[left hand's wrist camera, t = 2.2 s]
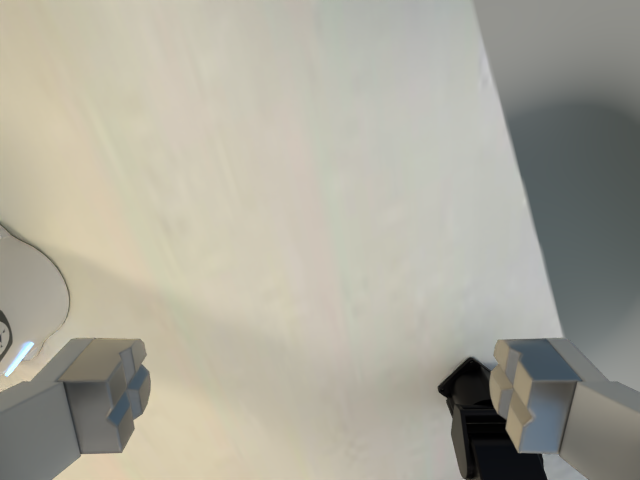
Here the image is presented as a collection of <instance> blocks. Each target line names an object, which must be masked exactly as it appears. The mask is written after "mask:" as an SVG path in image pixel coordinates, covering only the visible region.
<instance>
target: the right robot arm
mask: <svg viewBox="0 0 640 480" xmlns="http://www.w3.org/2000/svg"><path fill="white" fill-rule="evenodd" d="M471 361H473V362H471ZM470 362H471V363H470ZM490 374H491V371H490V370H489V369H488V368H486V367H485V366H483V365H482V364H481V363H479V362H478V361H477V360H475V359H474V358H469V359H468V360H467V361H465V362H464V363H463V364H462V365H461V366H460V367H459V368H458V369H457V370H456V371H455V372H454V373H453V374H452V375H451V376H450V377H449V378H447V379H446V380H445V381H444V382H443V383H442V384H441V385H440V386H439V387H438V391H439V393H441V394H442V395H444V396H445V397H446V398H448V399H447V400H446V403H447V405H448V408H449V410H450V413H451V416H452V418H453V421H452V429H451V436H452V440H453V445H454V449H455V453H456V458H457V462H458V466H459V470H460V473H461V476H462V477H463V479H466V480H547V477H546V474H545V471H544V466H543V457H542V454H540V453H518V451H517V450H516V448H515V446H514V444H513V442H512V440H511V438H510V437H509V435H508V433H507V431H506V429H505V428H506V422H507V420H506V419H504V418H503V417H501V416H500V415H499V414H497V412H496V410H495V408H494V406H493V403H492V400H491V397H490V387H489V382H490ZM441 389H443V390H441Z"/></svg>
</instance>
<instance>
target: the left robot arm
mask: <svg viewBox="0 0 640 480" xmlns="http://www.w3.org/2000/svg"><path fill="white" fill-rule="evenodd" d="M68 309H69V295H68V290H67V287H66V284H65V282H64V279H63V277H62V276H61V274H60V272H59V271H58V269H57V268H56V267H55V265H54V264H53V263H52V262H51V261H50V260H49V259H48V258H47V257H46V256H45V255H44V254H42V253H41V252H40V251H38V250H37V249H35V248H34V247H32V246H30V245H28V244H26V243H24V242H22V241H20V240H18V239H16V238H15V237H13V236H12V235H10V234H9V233H8V232H7V231H6V230H5V229H4V228H3V227H2V226H1V225H0V376H1V375H2V374H3V373H5V372H6V371H7V370H8V372H7V373H6V374H5V375H6V376H8V375H9V374H10V373H11V372H12V371H13V370H14V369H15V367H16V366H17V365H18V363H19V362H20V361H21V360H31V359H32V358H34V357H35V356H36V355H37V354H38V353H39V352H40V350H41V348H42V345H43V343H44V341H45V340H46V339H47V338H48V337H49V336H51V335H52V334H53V333H55V332H56V331H57V330H58V329H59V328H60V327H61V325H62V324H63V322H64V321H65V319H66V316H67V313H68ZM145 357H146V350H145V345H144V342H143V341H142V340H141V339H117V338H75V339H71V340H70V341H69V342H68V343H67V344H66V345H65V346H64V347H63V348H62V349H61V350H60V351H59V352H58V353H57V354H56V355H55V356H54V357H53V358H52V359H51V361H50V362H49V363H48V364H47V365H46V366H45V367H44V368H43V369H42V370H41V371H40V372H39V373H38V374H37V375H36V376H35V377H34V378H33V379H32V380H31V381H30V382H21V383H19V384H17V385H15V386H12V387H10V388H8V389H6V390H4V391H2V392H0V480H52V479H53V478H54V477H56V476H57V475H58V474H59V473H61V472H62V471H63V470H64V469H66V468H67V467H68V466H69V465H70V464H72V463H73V462H74V461H75V460H77V459H78V458H79V457H80V456H81V454H99V453H122V451H123V450H124V448H125V446H126V444H127V442H128V440H129V438H130V437H131V435H132V433H133V431H134V429H135V428H134V422H133V420H134V419H136V418H137V417H139V416H140V415H141V414H143V412H144V410H145V408H146V406H147V404H148V399H149V395H150V384H151V381H150V374H149V371H148V370H147V369H146V368H145V367H144V366H143V365H142V362H143V360H144V359H145ZM494 357H495V359H496V360H497V362H498V365H497V366H496V367H495V368H494V369H493V370H492V371H491V374H490V382H489V387H490V397H491V400H492V403H493V406H494V408H495V410H496V412H497V414H499V415H500V416H501V417H503V418H504V419H506V420H507V422H506V428H505V429H506V431H507V433H508V435H509V437H510V438H511V440H512V442H513V444H514V446H515V448H516V450H517V451H518V453H540V454H559V456H560V457H561V458H562V459H564V460H565V461H566V462H567V463H568V464H570V465H571V466H572V467H573V468H575V469H576V470H577V471H578V472H580V473H581V474H582V475H583V476H585V477H586V478H587V479H588V480H640V392H638V391H636V390H634V389H632V388H630V387H627V386H625V385H623V384H621V383H619V382H610V381H609V380H608V379H607V378H606V377H605V376H604V375H603V374H602V373H601V372H600V371H599V370H598V369H597V368H596V367H595V366H594V365H593V364H592V363H591V361H590V360H589V359H588V358H587V357H586V356H585V355H584V354H583V353H582V352H581V351H580V350H579V349H578V348H577V347H576V346H575V345H574V344H573V343H572V342H571V341H570V340H568V339H566V338H542V339H507V340H498V341H497V343H496V345H495V349H494Z"/></svg>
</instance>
